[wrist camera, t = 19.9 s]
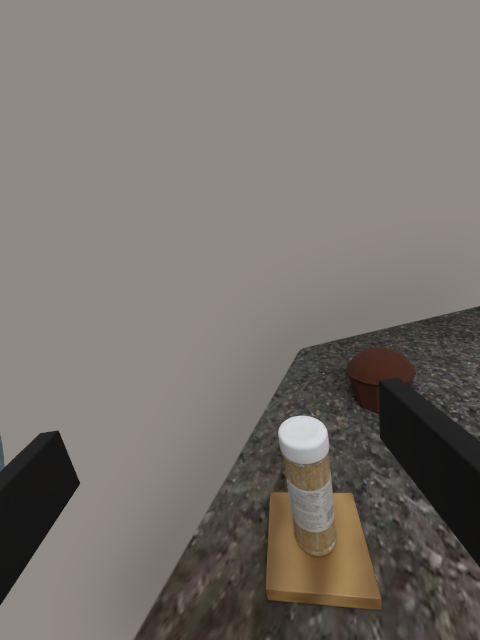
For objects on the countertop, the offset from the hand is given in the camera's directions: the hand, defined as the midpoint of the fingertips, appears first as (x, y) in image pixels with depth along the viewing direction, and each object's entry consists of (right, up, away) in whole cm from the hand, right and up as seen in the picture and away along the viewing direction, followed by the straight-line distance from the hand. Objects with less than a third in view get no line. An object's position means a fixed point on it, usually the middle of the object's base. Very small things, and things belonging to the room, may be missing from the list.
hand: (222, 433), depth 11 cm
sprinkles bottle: (+9, -19, +17) cm, 27 cm away
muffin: (+28, -11, +39) cm, 49 cm away
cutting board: (+9, -20, +18) cm, 28 cm away
